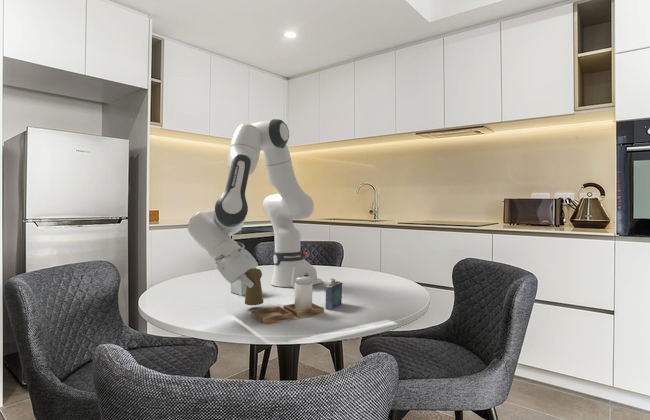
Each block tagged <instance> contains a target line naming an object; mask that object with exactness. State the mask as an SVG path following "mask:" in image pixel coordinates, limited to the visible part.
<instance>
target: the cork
mask: <svg viewBox="0 0 650 420" xmlns="http://www.w3.org/2000/svg"><path fill="white" fill-rule="evenodd" d="M246 276H247V278H249V279H250V280H252V281H253V282H254V283H255V285H254V286H253V287H252V288H249V287H248V286H247V287H246V295H244V296H245V297H244V305H247V306H260V305H262V304H264V296H263V295H264V294H263V288H262V281H261V278H262V277H263V272H262V270H261V269H260V268H256V269H255V268H253V269H249V270H248V271H247V272H246Z"/></svg>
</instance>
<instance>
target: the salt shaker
mask: <svg viewBox="0 0 650 420" xmlns="http://www.w3.org/2000/svg"><path fill="white" fill-rule="evenodd" d="M312 303H313V285H312V282H311V277H305V276H303V277H296V282H295V288H294V304H295V310H296V311H298V312H300V311H305V310H311V309H312Z"/></svg>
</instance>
